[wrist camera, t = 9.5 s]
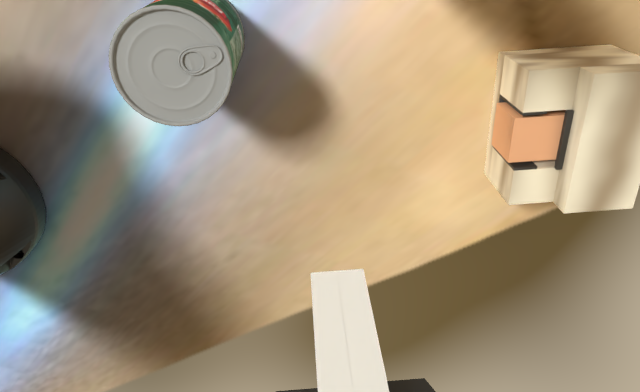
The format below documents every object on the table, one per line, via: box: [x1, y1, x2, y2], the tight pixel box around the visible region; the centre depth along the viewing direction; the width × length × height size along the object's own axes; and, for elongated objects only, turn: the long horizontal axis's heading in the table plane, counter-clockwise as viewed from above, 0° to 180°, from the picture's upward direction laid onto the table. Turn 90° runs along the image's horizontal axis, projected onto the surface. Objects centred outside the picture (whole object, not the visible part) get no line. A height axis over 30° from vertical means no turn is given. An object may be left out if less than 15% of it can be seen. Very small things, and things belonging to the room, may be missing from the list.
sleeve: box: [484, 44, 640, 213], centre depth 43 cm, size 10×12×8 cm
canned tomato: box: [109, 0, 245, 126], centre depth 37 cm, size 8×8×11 cm
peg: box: [492, 102, 566, 163], centre depth 43 cm, size 10×4×4 cm, turn 93°
